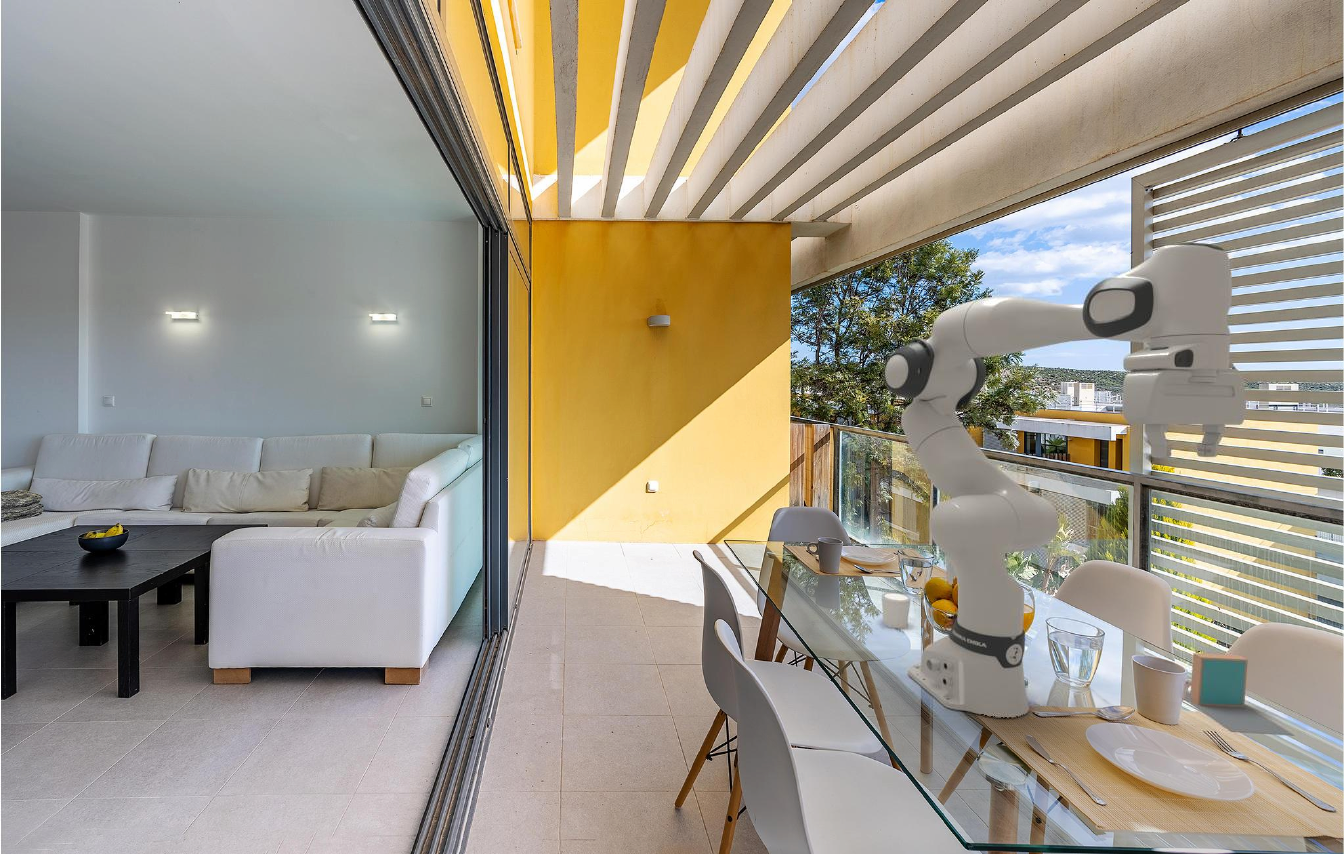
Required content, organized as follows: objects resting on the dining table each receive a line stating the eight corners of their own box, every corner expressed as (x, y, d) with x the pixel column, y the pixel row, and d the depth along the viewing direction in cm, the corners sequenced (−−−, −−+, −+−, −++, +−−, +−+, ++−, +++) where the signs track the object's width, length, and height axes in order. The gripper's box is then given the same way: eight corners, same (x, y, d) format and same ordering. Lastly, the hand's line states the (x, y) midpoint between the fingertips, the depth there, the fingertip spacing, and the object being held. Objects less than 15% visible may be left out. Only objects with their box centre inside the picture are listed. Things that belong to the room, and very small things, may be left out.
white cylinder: (906, 631, 157) (907, 602, 156) (877, 625, 161) (878, 597, 160) (912, 622, 163) (913, 595, 162) (884, 617, 166) (885, 590, 166)
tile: (1190, 699, 122) (1193, 652, 122) (1235, 702, 122) (1239, 654, 121) (1198, 705, 120) (1201, 657, 120) (1244, 707, 120) (1248, 659, 119)
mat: (1173, 695, 125) (1173, 691, 125) (1228, 698, 125) (1228, 694, 125) (1230, 735, 111) (1231, 731, 111) (1294, 739, 110) (1294, 734, 110)
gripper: (1213, 362, 98) (1209, 454, 98) (1114, 357, 91) (1111, 456, 91) (1262, 360, 92) (1258, 458, 92) (1161, 354, 85) (1157, 460, 85)
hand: (1184, 457), depth 92 cm, fingers open, 8 cm apart
